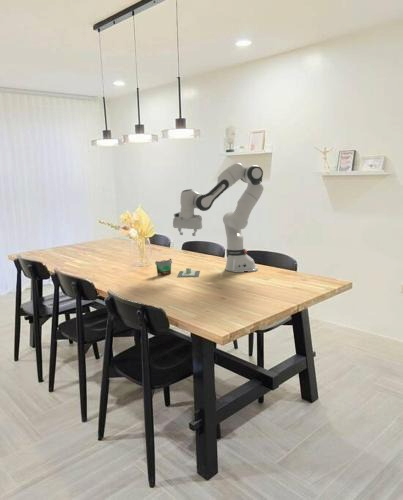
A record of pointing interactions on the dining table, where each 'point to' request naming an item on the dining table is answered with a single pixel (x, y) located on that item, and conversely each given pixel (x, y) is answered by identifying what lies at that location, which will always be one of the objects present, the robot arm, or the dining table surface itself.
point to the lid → (188, 272)
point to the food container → (163, 267)
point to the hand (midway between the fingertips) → (187, 235)
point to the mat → (192, 276)
